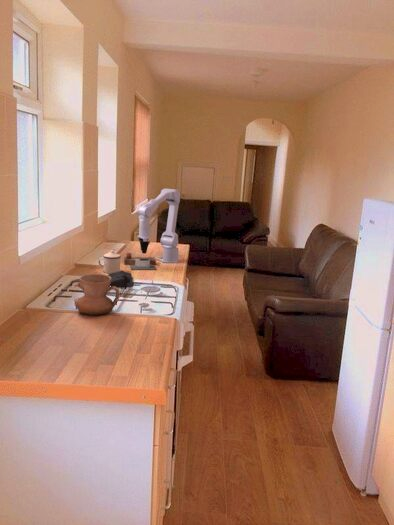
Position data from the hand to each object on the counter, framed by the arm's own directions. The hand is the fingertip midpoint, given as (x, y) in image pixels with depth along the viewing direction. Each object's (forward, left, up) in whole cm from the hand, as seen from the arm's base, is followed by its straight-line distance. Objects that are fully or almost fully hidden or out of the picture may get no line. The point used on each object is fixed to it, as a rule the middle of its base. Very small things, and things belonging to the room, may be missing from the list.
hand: (143, 251), depth 253 cm
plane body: (+1, -11, -9) cm, 15 cm away
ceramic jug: (+25, +74, -10) cm, 79 cm away
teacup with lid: (+19, +9, -10) cm, 23 cm away
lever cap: (0, -1, -9) cm, 9 cm away
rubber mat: (0, 0, -9) cm, 9 cm away
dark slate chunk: (+15, +28, -10) cm, 33 cm away
